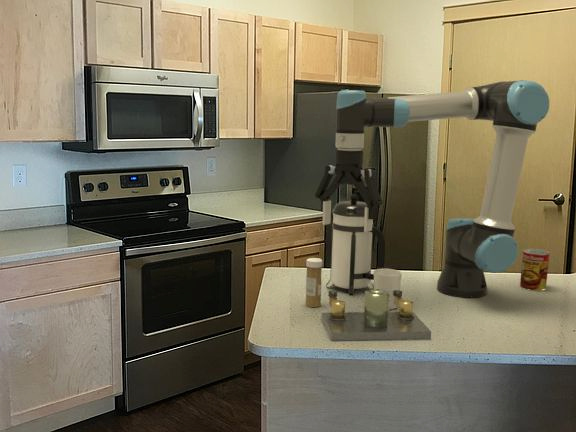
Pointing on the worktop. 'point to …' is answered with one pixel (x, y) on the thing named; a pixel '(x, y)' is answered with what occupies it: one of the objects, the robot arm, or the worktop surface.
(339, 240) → the coffee press
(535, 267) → the canned food
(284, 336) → the worktop surface
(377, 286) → the white cup
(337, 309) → the lever
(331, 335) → the base
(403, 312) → the lever
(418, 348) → the worktop surface
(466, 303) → the worktop surface
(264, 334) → the worktop surface
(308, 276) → the sprinkles bottle
